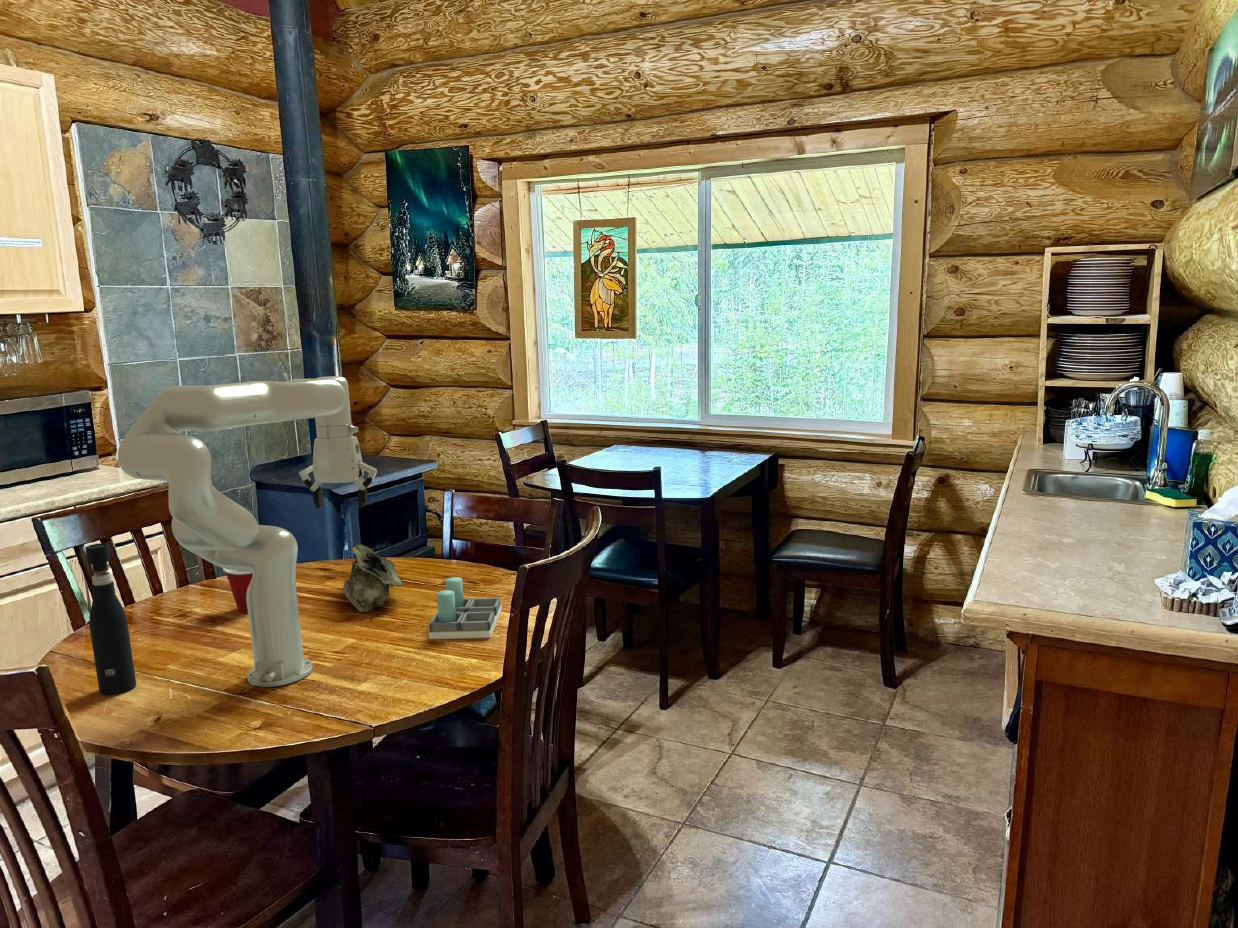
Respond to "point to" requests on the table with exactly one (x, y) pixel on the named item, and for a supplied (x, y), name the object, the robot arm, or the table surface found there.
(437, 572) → the table surface
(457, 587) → the teal peg
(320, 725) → the table surface
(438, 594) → the pin board
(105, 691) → the black water bottle
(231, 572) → the plastic cup
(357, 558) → the hollow geode rock
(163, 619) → the table surface
